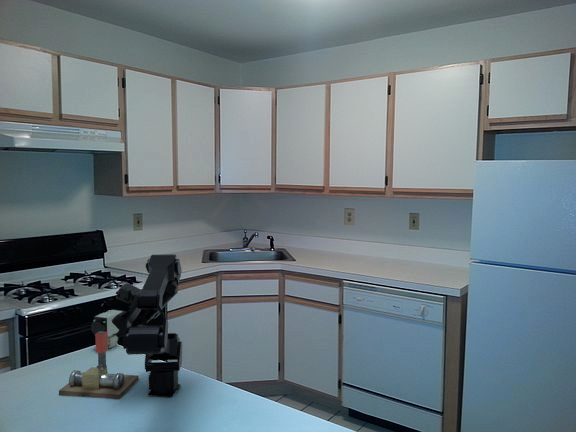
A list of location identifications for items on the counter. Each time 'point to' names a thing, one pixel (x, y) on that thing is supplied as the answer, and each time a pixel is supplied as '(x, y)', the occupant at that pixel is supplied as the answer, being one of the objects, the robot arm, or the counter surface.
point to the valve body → (96, 379)
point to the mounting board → (103, 391)
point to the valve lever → (101, 348)
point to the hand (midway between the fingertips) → (117, 336)
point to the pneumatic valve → (106, 326)
